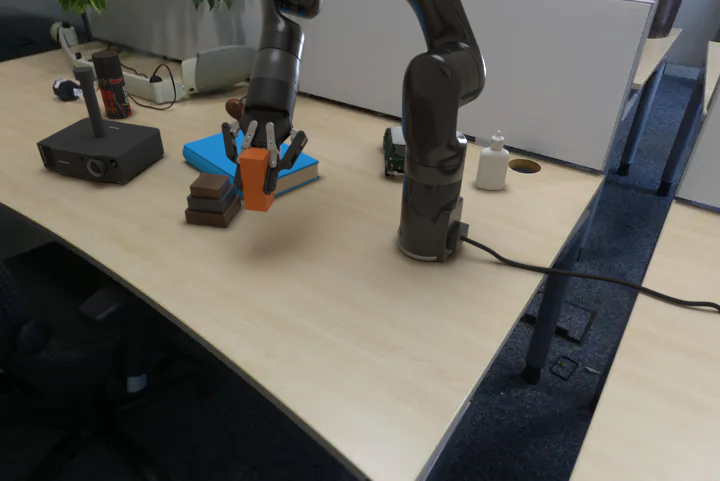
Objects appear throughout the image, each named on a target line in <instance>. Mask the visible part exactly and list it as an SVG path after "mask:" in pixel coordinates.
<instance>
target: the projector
mask: <svg viewBox="0 0 720 481" xmlns="http://www.w3.org/2000/svg"><path fill="white" fill-rule="evenodd" d="M93 69H94V68H93V67H91V66H78V67H75V68H73V69H72V73H73V76H74V79H75V81H77V82H79V86H80V89H81V93H82V96H83V100H84V102H85V108H86V110H87V111H86V112H87V114H88V116H87V117H84V118H81V119H79V120H77V121H75V122H73V123H72V124H70V125H68V126H66V127H64V128H62V129H61V130H59V131H56V132H55V133H52V134H50V135H49V136H47V137H45V138H43V139H41V140H39V141H37V142H36V146H37V150H38V152H39V154H40V155H39V156H40V159H41V160H42V164H43V167H44V168H45V169H46V170H50V171H53V172H59V174H61V175H65V176H71V177H75V178H81V179H86V180H92V181H96V182H102V183H104V182H106V183H107V182H114V183H117V184H125V183H127V182H129V181H130V180H131V179H133V178H134V177H135V176H136V175H137V174H140V172H142V171H143V170H144V169H146V168H147V167H149V166H150V165H152V164H153V163H154V162H156V161H157V160H160V159H161V158H162V157H163V155H164V154H165V149H164V144H163V139H162V135H161V130H160V128H158V127H153V126H149V125H148V126H147V125H141V124H136V123H129V122H122V121H116V120H111V119H110V120H109V119H104V118H103V115H102V112H101V108H100V104H99V100H98V97H97V93H96V89H95V86H94V82H93V80H94V79H95V77H96V76H95V73H94V70H93Z"/></svg>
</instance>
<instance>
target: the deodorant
mask: <svg viewBox="0 0 720 481" xmlns="http://www.w3.org/2000/svg"><path fill="white" fill-rule="evenodd" d="M90 56H91V60H92V64H93V69H94V72H95V77H96V80H97V84H98V87H99V90H100V95H101V99H102V104H103V107H104V110H105V115H106V117H107V118H108V119H110V120H121V119H125V118H128V117H130V116H132V115H133V112H132V108H131V103H130V99H129V94H128V90H127V86H126V81H125V77H124V72H123V69H122V64H121V60H120V55H119V52H118V51H115V50H100V51H96V52H93V53H91V54H90Z"/></svg>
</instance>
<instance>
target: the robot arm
mask: <svg viewBox="0 0 720 481" xmlns="http://www.w3.org/2000/svg"><path fill="white" fill-rule="evenodd" d="M405 1H406V2H407V4H408V5H409V6H410V7H411V9H412V11H413V12H414V14H415V16H416V19H417V20H418V23H419V26H420V29H421V32H422V34H423V38H424V41H425V42H424V43H425V45H426V49H427V50H424V51H421V52H420V53H418V54H416V55H415V56H413V57H412V58H411V59H410V61H409V62H408V64H407V66H406V68H405V71H404V75H403V80H402V90H401V125H402V134H403V138H404V141H405V144H406V150H405V164H404V175H403V178H402V191H401V205H400V215H399V216H400V217H399V226H398V230H397V234H398V236H397V238H398V239H397V246H398V248H399V251H401V252H402V253H403V254H404V255H405V256H407V257H409V258H411V259H414V260H417V261H423V262H424V261H425V262H435V261H437V262H439V263H444V262H445V260H446V259H447V258H448V257H449V256H450V255H451V254H452V252H457V250H459V249H460V247H461V246H462V244H463V243H464V242H465V243H467V244H469V245H471V246H474V247H476V248H478V249H481V250H483V251H485V252H486V253H488V254H490V255H491V256H493V257H494V258H495V259H496V260H498V261H500V262H502V263H504V264H506V265H509V266H512V267H516V268H519V269H524V270H527V271H528V270H529V271H534V272H541V273H549V274H554V275H555V274H556V275H560V276H566V277H574V278H581V279H588V280H597V281H603V282H609V283H612V284H616V285H617V284H618V285H621V286H625V287H628V288H631V289H633V290H636V291H640V292H642V293H645V294H647V295H650V296H652V297H655V298H658V299H661V300H663V301H666V302H670V303H673V304H676V305H680V306H683V307H684V306H685V307H701V308H702V307H703V308H706V307H707V308H712V309H714V310H717V311H718V312H719V313H720V304H718V303H716V302H713V301H705V300H704V301H703V300H702V301H701V300H700V301H699V300H697V301H695V300H684V299H681V298H676V297H673V296H670V295H668V294H664V293H661V292H658V291H655V290H653V289H650V288H648V287H645V286H642V285H640V284H637V283H634V282H631V281H627V280H623V279H620V278H616V277H611V276H607V275H600V274H592V273H585V272H577V271H570V270H566V269H565V270H563V269H560V268H559V269H557V268H552V267H545V266H537V265H532V264H526V263H521V262H517V261H514V260H512V259H509V258H505V257H504V256H503V255H501V254H499V253H498V252H496V251H495V250H494V249H492V248H490V247H488V246H486V245H485V244H483V243H480V242H478V241H476V240H473V239H471V238H469V237H468V235H469V229H470V228H469V227H470V224H469V223H466V222H464V221H463V222H462V221H461V220H462V213H463V207H464V201H465V199H464V197H463V196H461V192H462V184H463V178H464V171H465V163H466V157H467V152H468V151H467V150H468V140H467V138H466V136H465V135H464V134H463V133H462V132H460V131H458V130H457V129H458V117H459V116H458V115H459V110H460V109H462V108H464V107H466V106H468V105H471V104H472V103H473V102H475V101H476V100H477V99H478V98H480V96H481V95H482V93H483V91H484V89H485V86H486V80H487V69H486V64H485V60H484V57H483V53H482V51H481V49H480V46H479V43H478V41H477V38H476V36H475V33H474V31H473V27H472V25H471V23H470V20H469V18H468V15H467V13H466V10H465V8H464V5H463V1H462V0H405ZM324 5H325V0H260V9H261V28H260V29H261V30H260V35H259V42H258V45H257V51H256V55H255V59H254V60H253V64H252V67H251V71H250V76H249V77H250V78H249V83H248V86H247V87H248V88H247V92H246V95H247V97H246V102H245V107H244V114H243V116H242V117H241V118H240V120H239V122H238V121H236V122H233V123H228V122H227V121H225V122H223V123H221V133H222V134H223V140H224V145H225V151H226V156H227V158H228V159H229V160H231V161H232V162H233V163H235V164H236V165H237V166H236V172H235V177H234V185H235V186H236V189H237V190H239V191H241V192H243V186H242V179H241V170H240V161H239V157H240V156H241V155H242V153H243V152H244V151H245V150H246V149H249V148H250V147H251V148H260V149H267V150H268V151H269V168H267V171H266V176H265V182H264V185H263V193H264V194H266V195H271V192H274V191H275V189H276V184H277V179H278V174H279V172H280V171H281V170H284V169H287V170H290V169H292V167H293V165H294V164H295V162H296V160H297V159H298V157H299V155H300V154H301V152H303V150H304V148H305V147H306V146H307V144H308V142H309V138H308V136H307V133H305V131H304V130H298V129H296V128H295V127H294V125H293V119H294V113H295V108H296V102H297V97H298V92H299V89H300V81H301V67H302V62H303V57H304V56H303V55H304V50H305V44H306V32H305V30H304V28H303V27H302V26H301V25H300V24H299V23H297V22H296V21H294V20H293V19H291V18H289V17H288V16H291V17H292V16H293V17H295V18H296V17H297V18H300V19H303V20H313V19H315V18H316V17H317V16H318V15H319V14H321V12H322V10H323V7H324ZM284 14H286V15H287V16H286V15H284ZM240 130H242V132H243V135H244V137H245V138H244V140H243V142H242V145H241V150H240V153H239V155H238V150H237V144H236V139H235V138H237V137H238V133H239V131H240ZM289 137H290V142H291V143H290V144H289V148H288V149H287V151H286V153H285V154H284V156H283V158H282V159H280V158H281V144H282V143H285V142H286V141H287V140H288V139H289Z"/></svg>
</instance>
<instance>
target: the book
mask: <svg viewBox="0 0 720 481" xmlns="http://www.w3.org/2000/svg"><path fill="white" fill-rule="evenodd" d="M244 138H245V137H244V135H243V132H242V130H240V131H239V133H238V137H237V138H235V139H236V144H237V150H238V155H239V153H240V150H241V145H242V142H243V140H244ZM289 146H290V144H287V143H285V142H283V143H282V144H281V158H280V159H282V158H283V156H284V154H285V153H286V151H287V149H288V148H289ZM182 147H183V148H182V156H183V158H184V159H185V161H186V163H188V164H190V165H191V166H193V168H195V169H197V170H198V171H200V172H201V173H209V174H218V175H226V176H229V179H230V184H234V177H235V172H236V166H237V165H236V164H235V163H233V162H232V161H231V160H229V159H228V158H227V156H226V151H225V145H224V140H223V134H222V132H218V133H216V134H213V135H209V136H206V137H203V138H200V139H197V140H194V141H190V142H188V143H184V144H183V146H182ZM319 163H320V160H318V159H316V158H314V157H313V156H311V155H308V154H306V153H304V152H303V151H302V152H301V154H300V155H299V157H298V159H297V160H296V162H295V164H294V165H293V167H292V169H290V170H287V169H284V170H281V171H280V172H279V174H278V179H277V184H276V189H275V191H274V198H275V197H279V196H281V195H282V194H285V193H287V192H290V191H293V190H294V189H297V188H299V187H301V186H304V185H306V184H309V183H311V182H314V181H316V180H318V179H320V175H319ZM235 190H236V195H240V198H241V200H242V199H243V200H244V197H243V192H241V191H239V190H237V189H236V186H235Z"/></svg>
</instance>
